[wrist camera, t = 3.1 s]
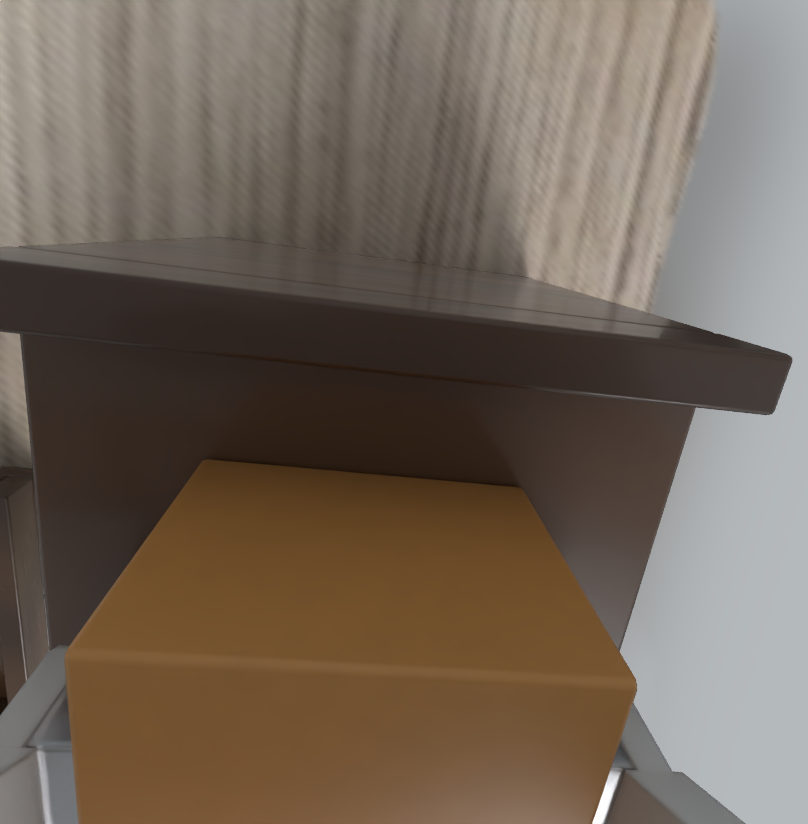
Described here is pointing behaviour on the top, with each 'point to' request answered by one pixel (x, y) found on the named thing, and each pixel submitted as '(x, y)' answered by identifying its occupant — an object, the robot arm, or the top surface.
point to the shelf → (20, 584)
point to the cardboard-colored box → (344, 661)
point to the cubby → (349, 394)
